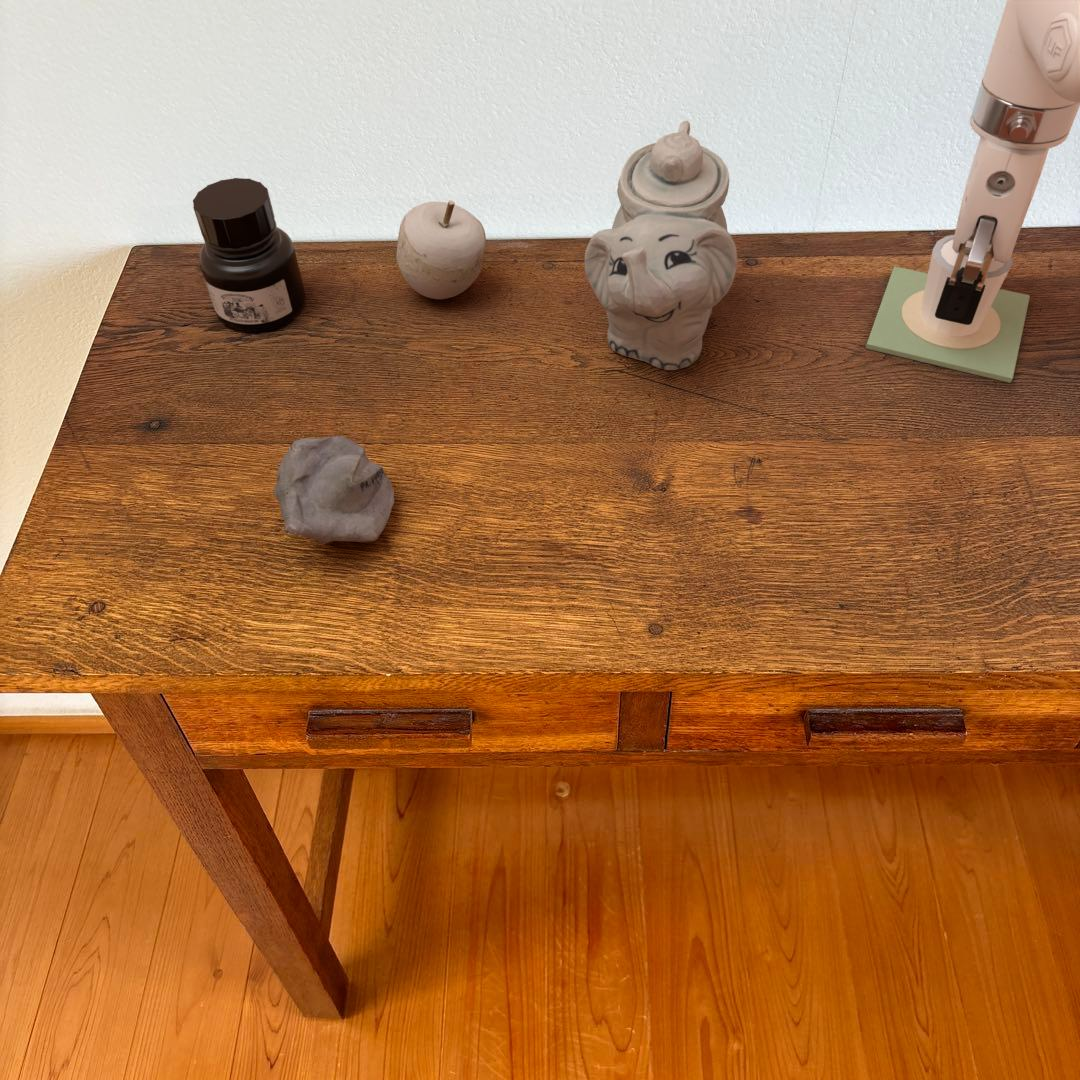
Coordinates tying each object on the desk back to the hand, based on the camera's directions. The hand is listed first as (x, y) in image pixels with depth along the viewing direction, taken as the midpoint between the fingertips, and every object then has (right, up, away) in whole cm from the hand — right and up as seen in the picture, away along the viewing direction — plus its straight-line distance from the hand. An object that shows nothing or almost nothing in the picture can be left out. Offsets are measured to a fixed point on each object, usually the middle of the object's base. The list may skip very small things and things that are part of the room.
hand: (961, 288), depth 93 cm
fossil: (-55, -22, -11) cm, 60 cm away
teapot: (-28, -5, +3) cm, 28 cm away
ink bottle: (-66, 0, +8) cm, 67 cm away
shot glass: (0, -2, +3) cm, 4 cm away
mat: (0, -3, +3) cm, 4 cm away
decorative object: (-48, +2, +9) cm, 49 cm away
